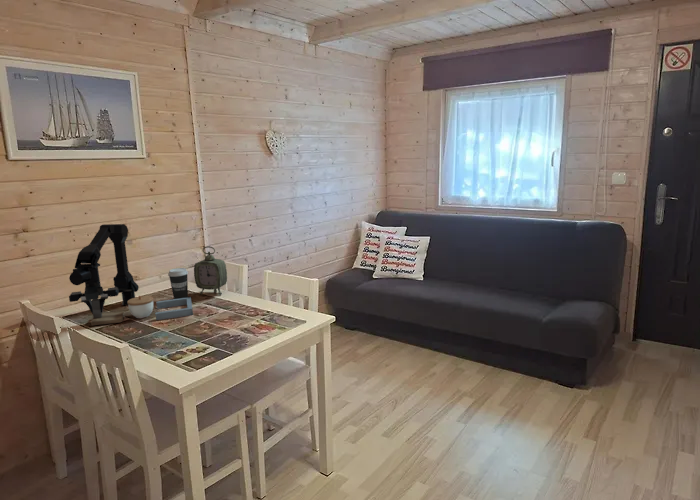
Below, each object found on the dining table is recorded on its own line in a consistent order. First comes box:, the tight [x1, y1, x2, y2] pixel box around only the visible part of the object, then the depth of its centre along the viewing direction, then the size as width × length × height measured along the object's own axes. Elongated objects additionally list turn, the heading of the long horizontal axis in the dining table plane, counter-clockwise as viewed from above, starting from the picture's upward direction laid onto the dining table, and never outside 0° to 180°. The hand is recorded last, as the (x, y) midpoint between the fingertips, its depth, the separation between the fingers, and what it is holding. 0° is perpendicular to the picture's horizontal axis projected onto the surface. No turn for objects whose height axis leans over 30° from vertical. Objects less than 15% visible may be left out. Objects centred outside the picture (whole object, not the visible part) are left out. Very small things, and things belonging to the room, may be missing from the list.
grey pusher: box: [90, 298, 125, 326], centre depth 209 cm, size 12×12×10 cm
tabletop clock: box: [193, 245, 228, 296], centre depth 242 cm, size 14×9×25 cm, turn 76°
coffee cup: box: [167, 267, 189, 299], centre depth 236 cm, size 10×10×15 cm
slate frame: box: [154, 296, 194, 321], centre depth 219 cm, size 19×16×3 cm
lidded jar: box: [127, 295, 154, 319], centre depth 214 cm, size 11×11×9 cm
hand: (97, 312), depth 208 cm, fingers closed on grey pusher, 3 cm apart
